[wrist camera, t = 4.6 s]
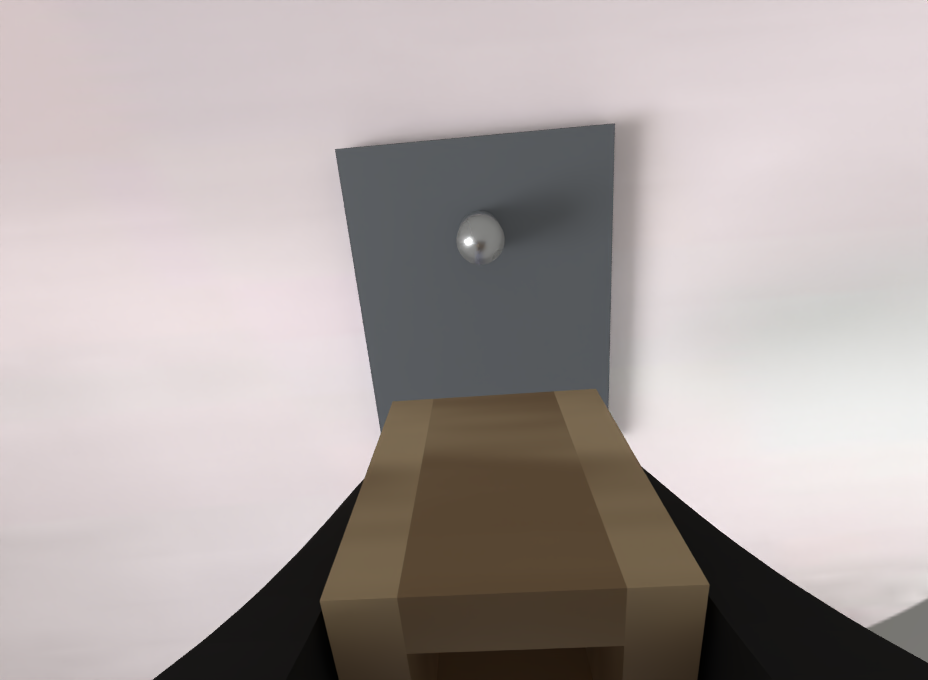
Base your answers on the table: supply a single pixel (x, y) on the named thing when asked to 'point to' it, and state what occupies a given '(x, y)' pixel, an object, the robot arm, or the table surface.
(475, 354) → the pin plate
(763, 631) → the robot arm
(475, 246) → the steel pin
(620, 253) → the table surface
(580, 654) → the hollow block
